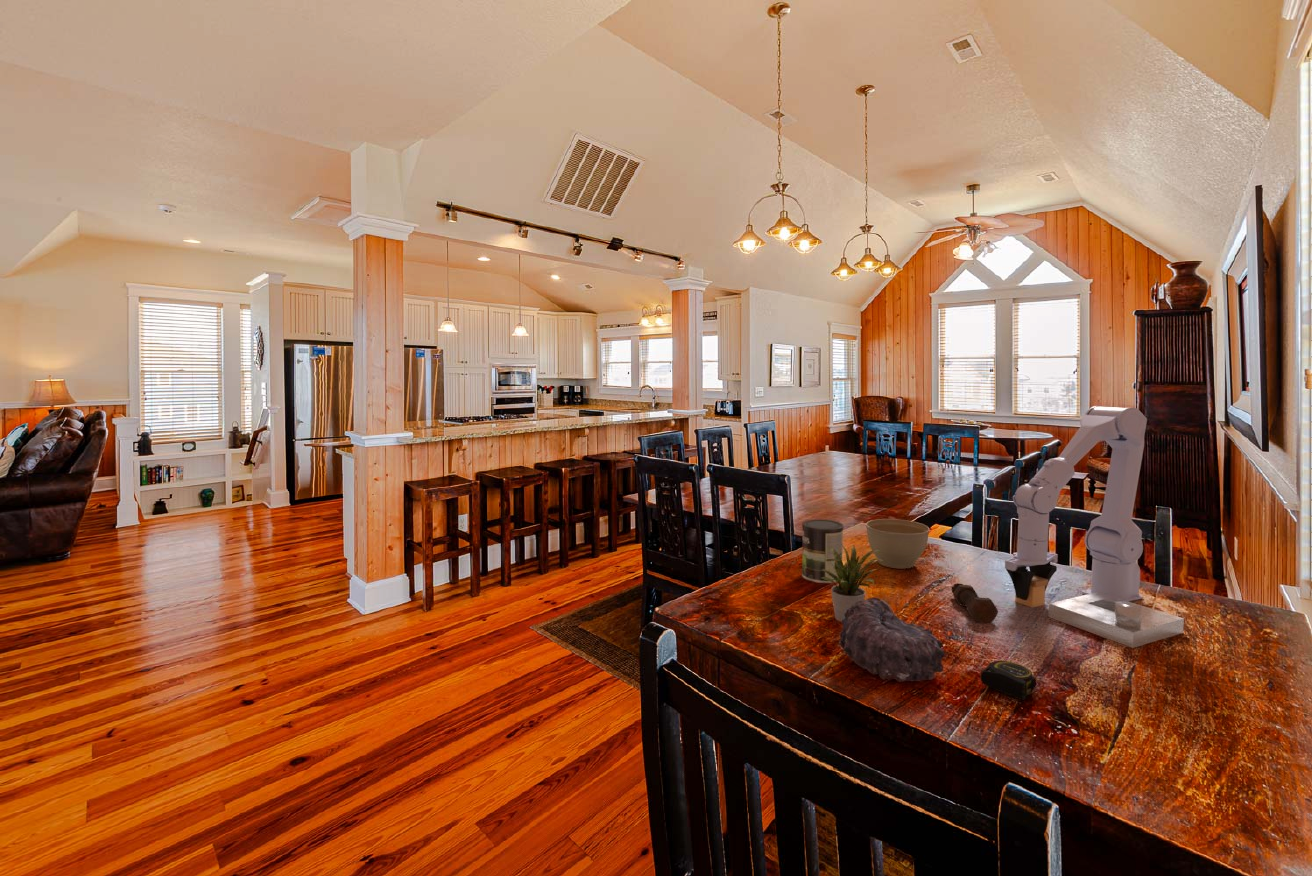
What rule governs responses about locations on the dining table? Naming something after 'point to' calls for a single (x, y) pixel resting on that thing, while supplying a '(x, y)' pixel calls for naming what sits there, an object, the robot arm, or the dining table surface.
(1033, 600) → the tan chamfered block
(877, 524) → the planter bowl
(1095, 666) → the dining table surface
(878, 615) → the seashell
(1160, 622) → the grey slab with hole
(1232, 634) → the dining table surface
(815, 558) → the coffee can
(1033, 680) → the tape measure
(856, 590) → the house plant
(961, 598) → the bolt
